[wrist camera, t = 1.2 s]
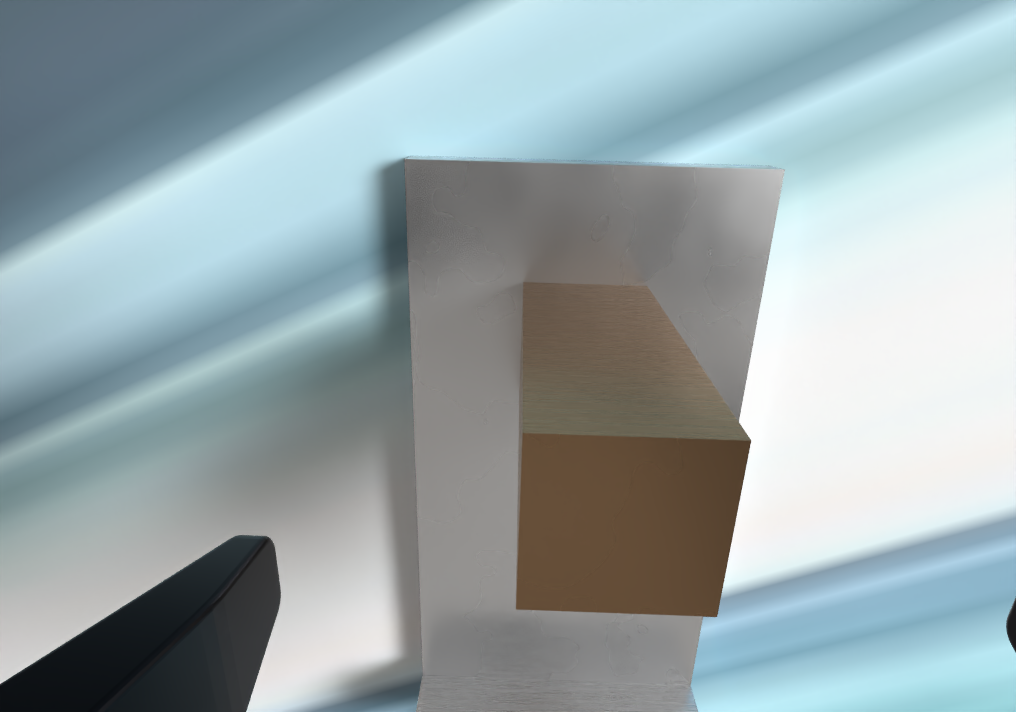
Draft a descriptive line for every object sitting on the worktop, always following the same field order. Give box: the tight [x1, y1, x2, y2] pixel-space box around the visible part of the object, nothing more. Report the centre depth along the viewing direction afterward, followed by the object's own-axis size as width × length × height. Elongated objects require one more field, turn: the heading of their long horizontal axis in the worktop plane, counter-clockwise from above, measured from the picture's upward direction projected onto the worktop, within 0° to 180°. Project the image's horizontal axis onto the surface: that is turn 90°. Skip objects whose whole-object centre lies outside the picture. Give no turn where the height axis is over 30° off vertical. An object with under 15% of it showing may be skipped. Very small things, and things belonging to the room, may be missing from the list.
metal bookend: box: [404, 156, 785, 712], centre depth 13 cm, size 16×8×8 cm, turn 179°
